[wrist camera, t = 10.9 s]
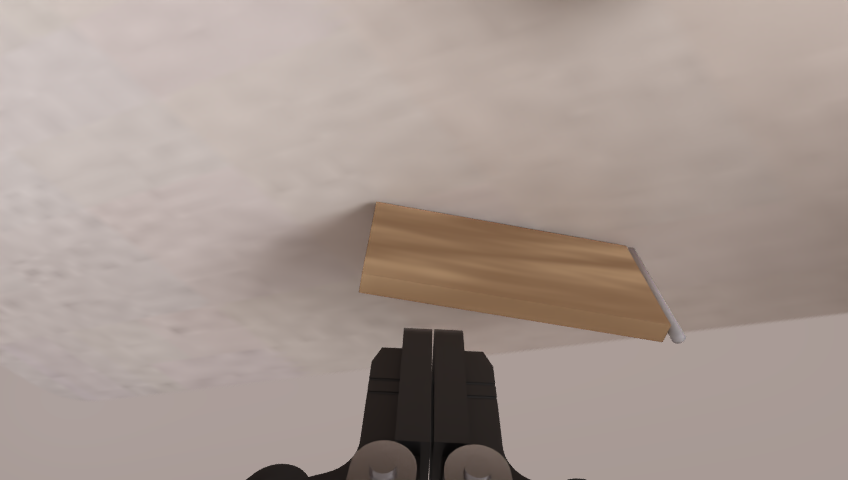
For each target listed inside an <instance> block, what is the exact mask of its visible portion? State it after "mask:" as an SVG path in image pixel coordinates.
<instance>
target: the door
mask: <svg viewBox="0 0 848 480" xmlns="http://www.w3.org/2000/svg"><path fill="white" fill-rule="evenodd" d="M359 292H360V293H366V294H372V295H378V296H385V297H391V298H397V299H403V300H409V301H415V302H421V303H427V304H433V305H439V306H445V307H452V308H458V309H464V310H470V311H476V312H482V313H488V314H494V315H500V316H506V317H512V318H518V319H525V320H531V321H537V322H543V323H549V324H555V325H561V326H567V327H573V328H579V329H585V330H592V331H598V332H604V333H610V334H616V335H622V336H628V337H634V338H640V339H646V340H652V341H659V342H663V340H664V338H665V336H666V334H667V332H668V330H669V329H670V327H671V324H670V322H669V320H668V319H667V317H666V315H665V313H664V312H663V310H662V308H661V306H660V305H659V303H658V301H657V299H656V298H655V296H654V294H653V292H652V291H651V289H650V287H649V285H648V283H647V282H646V280H645V278H644V276H643V275H642V273H641V271H640V269H639V268H638V266H637V264H636V262H635V261H634V259H633V257H632V255H631V254H630V252H629V250H628V248H627V247H626V246H623V245H618V244H612V243H606V242H601V241H595V240H589V239H584V238H578V237H573V236H567V235H561V234H556V233H550V232H544V231H539V230H533V229H527V228H522V227H516V226H510V225H505V224H499V223H494V222H488V221H482V220H477V219H471V218H465V217H460V216H454V215H448V214H443V213H437V212H431V211H426V210H420V209H415V208H409V207H403V206H398V205H392V204H386V203H381V202H376V207H375V212H374V216H373V221H372V226H371V231H370V236H369V241H368V246H367V251H366V256H365V261H364V266H363V271H362V277H361V283H360V289H359Z"/></svg>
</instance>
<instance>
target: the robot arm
mask: <svg viewBox="0 0 848 480" xmlns="http://www.w3.org/2000/svg"><path fill="white" fill-rule="evenodd" d="M496 397H497V396H496V387H495V380H494V371H493V366H492V365H491V363H490V362H489V360H488V359H487V357H486V356H485V354H484V353H483V352H472V351H464V339H463V331H459V330H438V329H435V330H434V344H433V359H432V329H413V328H404V335H403V347H402V348H382V349H381V350H380V351H379V353H378V354H377V355H376V356H375V358H374V359H373V360H372V364H371V370H370V377H369V384H368V392H367V398H366V404H365V411H364V418H363V425H362V432H361V438H360V444H359V447H358V449H357V451H356V453H355V455H354V456H353V457H352V458H351V459H350V460H349V461H348V462H347V463H346V464H345V465H343V466H341V467H340V468H338V469H336V470H333V471H330V472H327V473H323V474H319V475H315V476H311V477H308V476H307V474H306V473H305V472H304V471H303V470H301V469H300V468H298V467H296V466H293V465H289V464H275V465H271V466H268V467H265V468H263V469H261V470H259V471H257V472H256V473H254V474H253V475H252V476H250V477H249V478H248V479H246V480H428V473H429V480H530V479H527V478H526V477H524V476H522V475H521V474H519V473H518V472H517V471H515V469H514V468H513V467H512V466H511V465H510V464H509V462H508V461H507V459H506V457H505V454H504V451H503V446H502V437H501V429H500V421H499V412H498V404H497V399H496ZM429 458H430V466H429ZM429 468H430V469H429ZM429 470H430V471H429ZM568 480H585V479H568Z"/></svg>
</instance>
